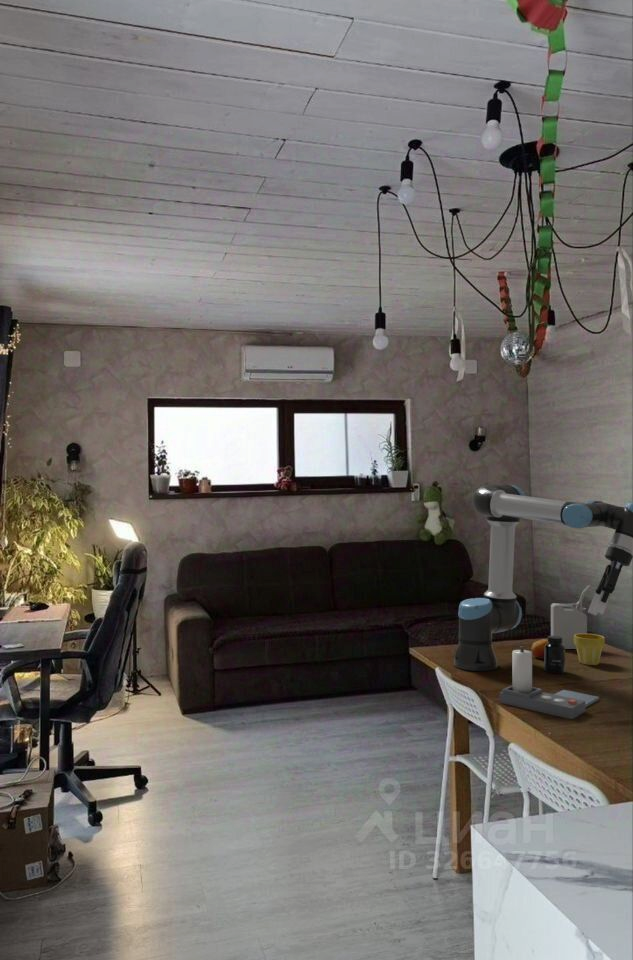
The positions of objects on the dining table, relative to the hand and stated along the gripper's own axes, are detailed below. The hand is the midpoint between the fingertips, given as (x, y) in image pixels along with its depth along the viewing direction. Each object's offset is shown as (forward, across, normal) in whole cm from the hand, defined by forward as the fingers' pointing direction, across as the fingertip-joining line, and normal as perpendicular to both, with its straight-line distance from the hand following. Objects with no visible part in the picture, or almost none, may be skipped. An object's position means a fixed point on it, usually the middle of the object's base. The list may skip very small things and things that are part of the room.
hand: (594, 613), depth 216 cm
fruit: (+19, +49, +5) cm, 53 cm away
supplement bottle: (+22, +30, +1) cm, 37 cm away
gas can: (+11, +67, -5) cm, 68 cm away
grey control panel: (+32, -11, +5) cm, 34 cm away
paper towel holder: (+31, -9, +11) cm, 34 cm away
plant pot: (+14, +45, -10) cm, 48 cm away
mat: (+27, -2, -4) cm, 27 cm away
